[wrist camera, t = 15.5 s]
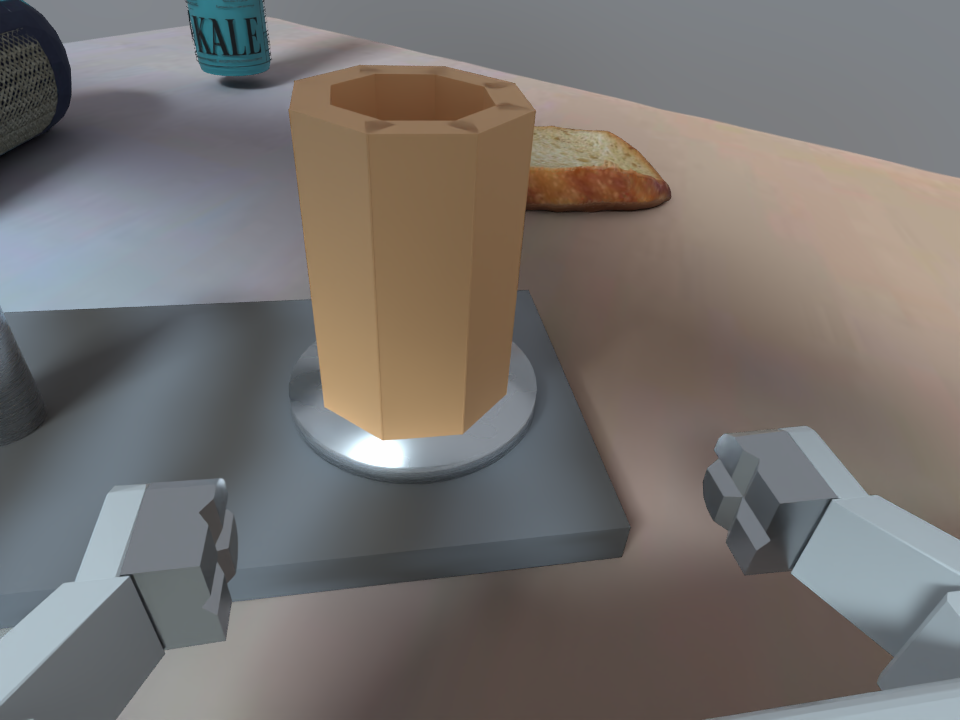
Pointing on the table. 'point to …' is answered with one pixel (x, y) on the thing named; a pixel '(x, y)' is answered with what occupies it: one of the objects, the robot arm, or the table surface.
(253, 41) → the beverage bottle
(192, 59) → the table surface
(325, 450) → the board
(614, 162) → the slice of bread
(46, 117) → the portable speaker
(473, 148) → the sleeve
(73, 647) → the robot arm
